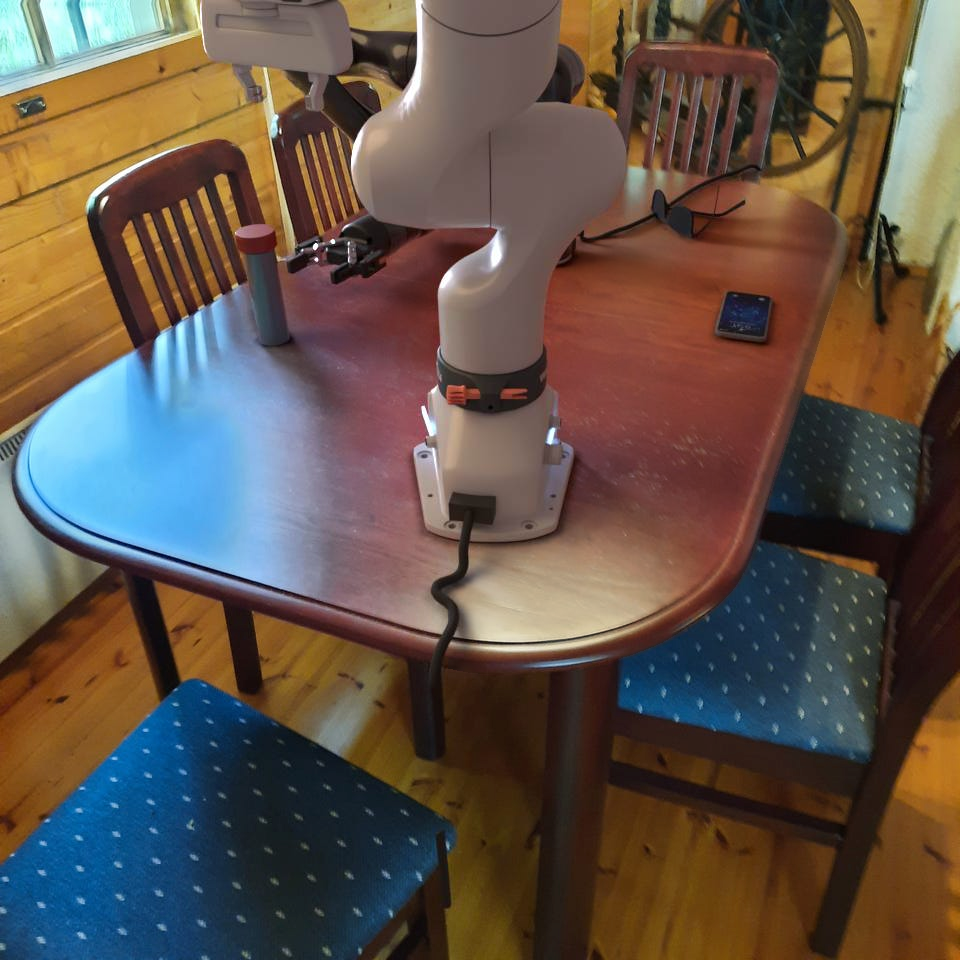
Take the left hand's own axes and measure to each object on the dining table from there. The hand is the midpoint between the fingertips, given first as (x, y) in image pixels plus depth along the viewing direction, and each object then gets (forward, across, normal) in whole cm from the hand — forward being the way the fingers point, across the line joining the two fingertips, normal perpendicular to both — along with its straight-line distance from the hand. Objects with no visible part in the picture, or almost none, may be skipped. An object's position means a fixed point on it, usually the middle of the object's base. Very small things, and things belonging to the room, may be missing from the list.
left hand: (284, 105), depth 107 cm
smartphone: (+32, +55, +32) cm, 71 cm away
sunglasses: (+33, +37, +69) cm, 85 cm away
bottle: (+32, -6, -4) cm, 33 cm away
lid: (+16, -6, -3) cm, 18 cm away
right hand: (+26, -5, +6) cm, 27 cm away
